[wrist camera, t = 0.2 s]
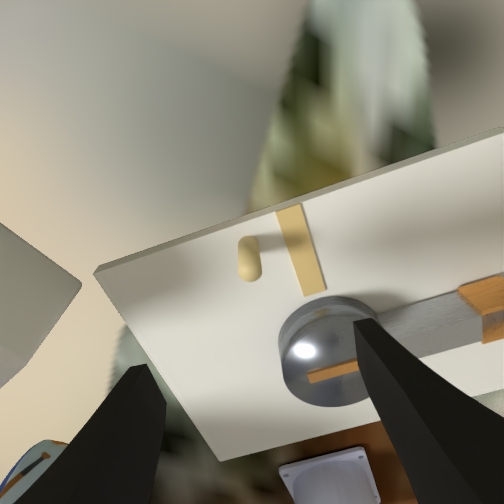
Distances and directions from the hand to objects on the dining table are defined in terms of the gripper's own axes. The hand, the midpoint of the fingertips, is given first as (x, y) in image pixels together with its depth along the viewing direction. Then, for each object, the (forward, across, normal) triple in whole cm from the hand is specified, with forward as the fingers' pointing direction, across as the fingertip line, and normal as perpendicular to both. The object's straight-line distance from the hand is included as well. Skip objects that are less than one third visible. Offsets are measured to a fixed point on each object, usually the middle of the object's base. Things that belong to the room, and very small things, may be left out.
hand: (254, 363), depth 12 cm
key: (+9, -8, +8) cm, 14 cm away
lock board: (+10, -4, +8) cm, 13 cm away
